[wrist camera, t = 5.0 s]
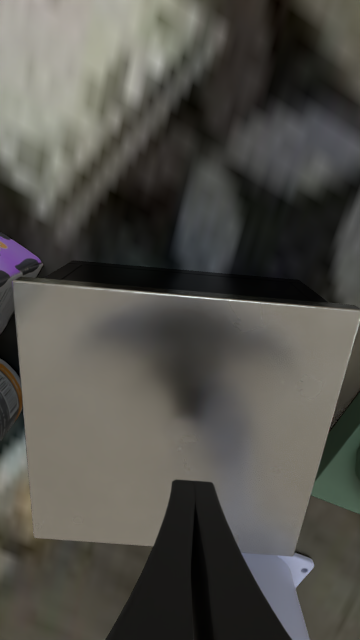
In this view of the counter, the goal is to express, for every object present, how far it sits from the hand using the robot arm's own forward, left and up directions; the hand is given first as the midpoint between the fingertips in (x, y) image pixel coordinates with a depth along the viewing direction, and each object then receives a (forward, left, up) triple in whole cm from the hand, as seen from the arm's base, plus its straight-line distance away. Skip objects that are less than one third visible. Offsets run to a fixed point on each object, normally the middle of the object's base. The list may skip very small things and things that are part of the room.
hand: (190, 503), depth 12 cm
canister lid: (0, +1, -4) cm, 4 cm away
